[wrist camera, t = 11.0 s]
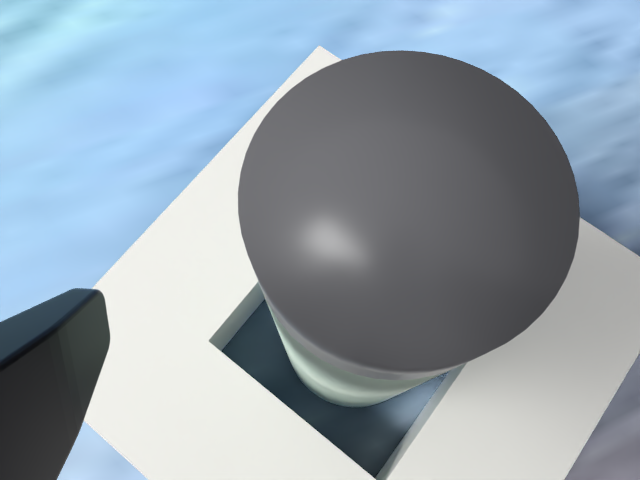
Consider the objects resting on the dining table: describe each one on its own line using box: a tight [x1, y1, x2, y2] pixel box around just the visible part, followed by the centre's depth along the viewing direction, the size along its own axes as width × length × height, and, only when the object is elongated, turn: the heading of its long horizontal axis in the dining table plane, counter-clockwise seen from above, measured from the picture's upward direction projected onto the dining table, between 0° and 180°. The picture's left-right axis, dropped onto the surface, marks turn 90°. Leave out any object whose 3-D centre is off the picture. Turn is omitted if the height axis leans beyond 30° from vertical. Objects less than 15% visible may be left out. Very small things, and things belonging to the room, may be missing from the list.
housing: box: [84, 46, 640, 480], centre depth 19 cm, size 15×15×2 cm
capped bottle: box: [238, 51, 580, 408], centre depth 14 cm, size 5×5×13 cm
